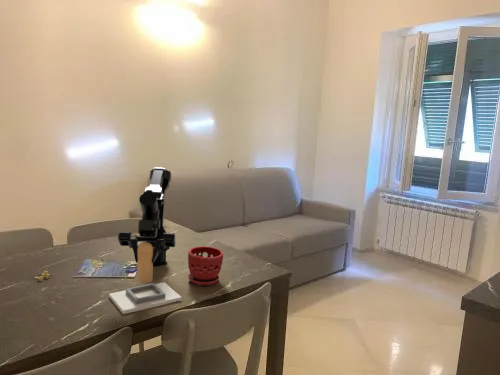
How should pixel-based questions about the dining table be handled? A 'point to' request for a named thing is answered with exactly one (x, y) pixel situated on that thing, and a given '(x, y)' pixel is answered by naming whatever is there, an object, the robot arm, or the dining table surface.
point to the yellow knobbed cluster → (43, 276)
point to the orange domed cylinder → (145, 262)
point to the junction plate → (144, 297)
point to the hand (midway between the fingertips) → (144, 262)
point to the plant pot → (204, 265)
